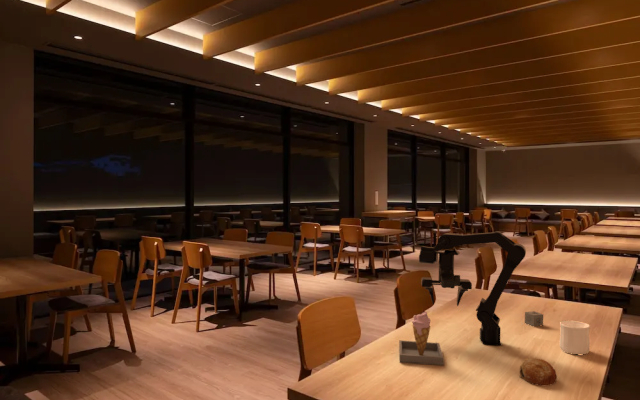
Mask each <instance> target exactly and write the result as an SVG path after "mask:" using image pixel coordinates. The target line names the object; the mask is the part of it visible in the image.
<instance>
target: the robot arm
mask: <svg viewBox="0 0 640 400" xmlns="http://www.w3.org/2000/svg"><path fill="white" fill-rule="evenodd" d="M437 242H438V243H436V245H434V246H433V247H432V246H431V247H430V246H426V245H425V246H424V245H422V246H420V251H419V255H418V261H419V264H428V265H436V264H435V263H437V262H438V276H437V277H438V279H433V278H432V277H427V276H426V277H425V276H422V277H421V280H420V285H421V287H422V288H424V289H425V290H427V291H428V292H429V296H430V300H431V302H432V305H435V296H434V287H433V286H441V288H443V289H446V288H448V289H455V287H457V293H456V306H457V307H458V306H459V305H460V302H461V300H462V297H463V295H464V294H465V293H466V292H469V290H472V289H473V285H472V282H471V281H470V280H469V279H466V278H465V279H464V278H461V275H460V274H454V273H455V271H454V270H455V256H459V255H460V253H461V252H459V251H458V250H457V249H456V247H461V246H464V245H476V244H477V245H478V244H491V243H492V244H494V243H496V244H497V245H498V246H499V247H500V248H501V249H502V250H504V251H505V252H506V253H507V254H506V258H505V262H504V266H503V267H502V270H501V271H500V273H499V275H498V277H497V279H496V281H495V283H494V285H493V287H492V289H491V291H490V293H489V295H488V296H487V297H486V298H483V297H481V299H480V302H479V305H478V306H477V307H476V309H475V311H476V315H475V317H476V318H477V320H478V322H480V323H481V324H480V327H481V328H479V341H480V342H481V343H482V345H487V346H488V345H489V346H502V343H501V326H500V325H499V324H500V322H501V318H500V317H499V316H498V315H497V314H496V313H495V312H496V308H497V305H498V302H499V299H500V298H501V296H502V295H503V292H504V291H505V288H506V286H507V285H508V282H509V280H510V279H511V277H512V275H513V273H514V271H515V270H516V268H517V267H518V266H519V264H520V263H521V262H522V261H523V260H524V259H525V257H526V254H527V253H526V252H527V250H526V248H525V246H524V245H523V244H522V243H516V242H515V241H513V239H511V238H509V237H507V236H506V235H504V233H503V232H501V231H497V230H495V231H492V232H483V233H482V232H481V233H469V234H460V233H453V232H452V233H451V232H447V233H444V234H442V235H440V236H439V237H438V241H437ZM452 248H453V249H452ZM443 249H444V251H442V250H443Z"/></svg>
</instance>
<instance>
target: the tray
mask: <svg viewBox="0 0 640 400" xmlns="http://www.w3.org/2000/svg"><path fill="white" fill-rule="evenodd" d="M398 345H399V346H398V348H399V349H398V353H399V356H398V357H399V363H405V364H416V365H417V364H418V365H430V366H431V365H432V366H442V367H443V366H444V355H443V351H442V349H441V345H440V342H429V341H427V344H426V347H425V350H424V354H423V355H419V352H418V348H417V345H416V341H413V340H399V341H398Z"/></svg>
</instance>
